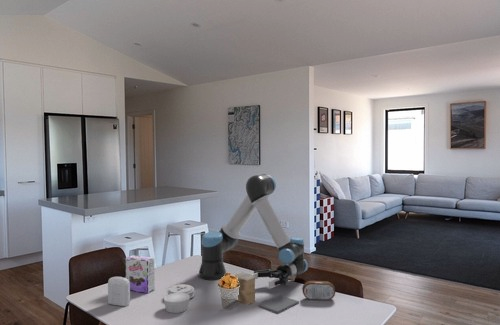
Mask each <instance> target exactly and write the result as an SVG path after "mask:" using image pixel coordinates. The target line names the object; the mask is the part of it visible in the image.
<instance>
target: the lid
mask: <svg viewBox="0 0 500 325" xmlns="http://www.w3.org/2000/svg"><path fill="white" fill-rule="evenodd" d="M166 292H167V295H169V294H173V293H186V294H188V295H189V296H190V299H192V298H194V297H195V288H194V287H193V285H189V284H182V283H181V284H176V285H175V284H174V285H173V286H170V287H169V288H168V289H167V291H166Z"/></svg>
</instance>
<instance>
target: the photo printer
mask: <svg viewBox="0 0 500 325" xmlns="http://www.w3.org/2000/svg"><path fill="white" fill-rule="evenodd" d="M107 303H108V304H109V305H114V306H119V307H120V306H121V307H128V306H129V305H130V304H131V291H130V281H129V280H128V279H126V277H122V276H112V277H110V278H109V279H108V282H107Z"/></svg>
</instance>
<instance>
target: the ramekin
mask: <svg viewBox="0 0 500 325" xmlns="http://www.w3.org/2000/svg"><path fill="white" fill-rule="evenodd" d="M190 299H191V298H190V296H189V295H188V294H186V293H173V294H169V295H168V294H167V295H165V296H164V297H163V302H164V305H165V306H164V307H165V310H166V311H167V312H168V313H170V314H179V313H183V312H185V311H187V309H189V304H190Z"/></svg>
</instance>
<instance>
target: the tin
mask: <svg viewBox="0 0 500 325" xmlns="http://www.w3.org/2000/svg"><path fill="white" fill-rule="evenodd" d="M302 294H303V296H304V297H305V298H306V299H307V300H311V301H330V300H332V299H333V298H334V297H335V296H336V287H335V285H334V284H333V283H332V282H330V281H327V280H326V281H325V280H307V281H306V282H305V283H303V285H302Z"/></svg>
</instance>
